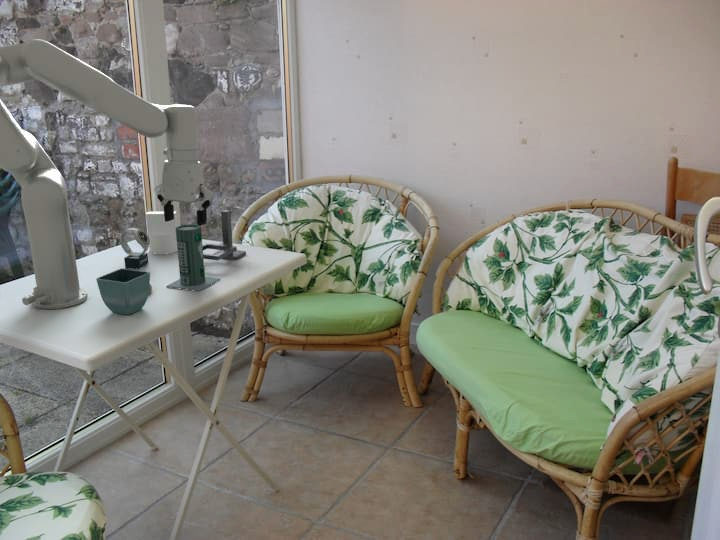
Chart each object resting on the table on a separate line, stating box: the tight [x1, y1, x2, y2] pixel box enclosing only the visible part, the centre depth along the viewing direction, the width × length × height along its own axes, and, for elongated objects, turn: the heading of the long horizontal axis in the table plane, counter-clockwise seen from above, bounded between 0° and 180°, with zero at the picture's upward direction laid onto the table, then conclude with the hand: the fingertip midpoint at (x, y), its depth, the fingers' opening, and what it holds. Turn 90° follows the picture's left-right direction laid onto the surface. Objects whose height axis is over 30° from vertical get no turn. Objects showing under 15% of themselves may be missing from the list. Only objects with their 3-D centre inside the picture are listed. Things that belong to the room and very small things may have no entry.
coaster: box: [166, 276, 221, 292], centre depth 175 cm, size 10×10×1 cm
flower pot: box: [95, 268, 151, 316], centre depth 156 cm, size 9×9×9 cm
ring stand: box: [202, 209, 247, 261], centre depth 192 cm, size 18×10×14 cm, turn 160°
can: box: [176, 223, 206, 286], centre depth 173 cm, size 6×6×15 cm
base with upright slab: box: [145, 210, 179, 255], centre depth 203 cm, size 9×9×12 cm
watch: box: [119, 227, 150, 270], centre depth 188 cm, size 6×8×11 cm
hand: (185, 222), depth 170 cm, fingers open, 9 cm apart
